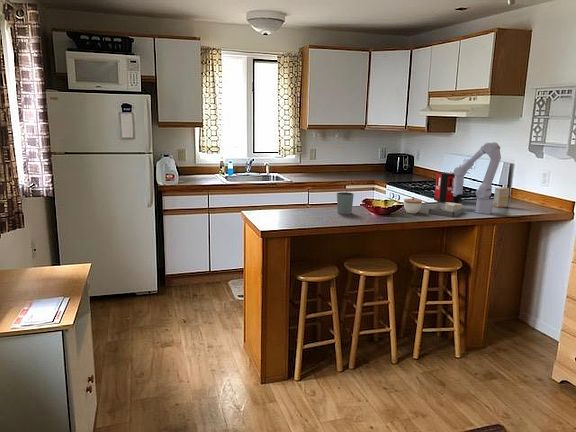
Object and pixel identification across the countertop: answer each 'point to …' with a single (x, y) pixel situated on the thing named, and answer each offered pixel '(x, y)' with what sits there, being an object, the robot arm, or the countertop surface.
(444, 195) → the cleaning product box
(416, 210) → the lidded jar
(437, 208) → the bay
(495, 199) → the supplement box
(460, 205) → the t block
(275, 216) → the countertop surface
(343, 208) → the grey cup
